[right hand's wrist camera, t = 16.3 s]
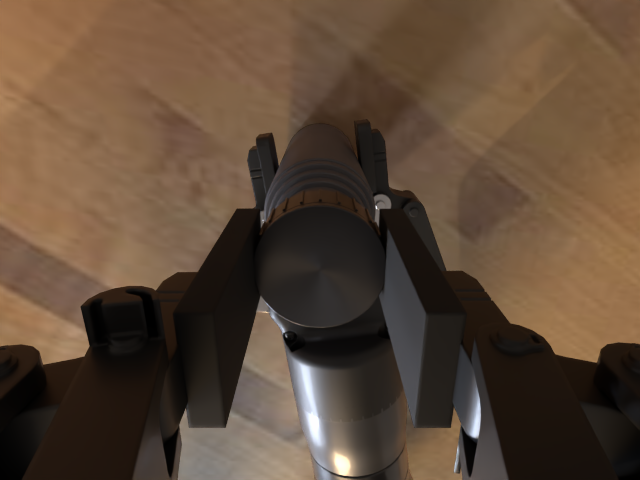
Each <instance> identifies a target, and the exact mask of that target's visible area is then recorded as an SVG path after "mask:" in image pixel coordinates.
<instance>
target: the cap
mask: <svg viewBox="0 0 640 480" xmlns="http://www.w3.org/2000/svg"><path fill="white" fill-rule="evenodd" d="M258 237H260V238H259V240H258V243H257V246H256V249H255V252H254V274H255V284H256V287H257V289H258V291H259V293H260V295H261V297H262V298H263V300H264V301H265V302H266V304H267V305H268V306H269V307H270V308H271V309H272V310H273V311H274V312H276V313H277V314H278V315H280V316H281V317H283V318H284V319H286V320H288V321H291V322H293V323H296V324H299V325H302V326H307V327H315V328H326V327H333V326H338V325H342V324H344V323H347V322H349V321H351V320H353V319H355V318H357V317H359V316H360V315H362V314H363V313H364V312H365V311H367V310H368V309H369V308H370V307H371V306H372V305H373V303H374V302H375V301H376V299H377V298H378V297H379V295H380V293H381V291H382V289H383V287H384V284H385V269H386V252H385V249H384V246H383V243H382V241H381V237H382V235H381V233H380V230H379V227H378V225H377V222H374V221H373V219H372V217H371V216H370V214H369V211H368V209H367V208H366V209H364V208H363V207H362V206H361V205H360V204H359V203H357V202H356V201H355V198H352V199H351V198H349V197H348V196H345V195H343V194H340V193H339V191H336V192H333V191H325V190H322V189H319V190H314V191H307V192H304V191H301V193H300V194H297V195H295V196H292V197H290V198H289V199H288V197H287V198H285V201H284V202H282V203H281V204H280V205H279V206H278V207H277V208H276V209H275V208H273V209H272V212H271V214H270V216H269V217H268V219H267V221H266V222H265V221H264V222H263V225H262V227H261V230H260V232H259V235H258Z"/></svg>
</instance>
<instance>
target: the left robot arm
mask: <svg viewBox="0 0 640 480" xmlns="http://www.w3.org/2000/svg"><path fill="white" fill-rule="evenodd" d="M354 125H355V135H356V144H357V154H358V162H359V164H360V166H361V169H362V171H363V173H364V175H365V177H366V180H367V182H368V184H369V186H370V189H371V191H372V193H373V197H374V201H375V210H376V214H375V222H377V225H378V227H379V210H380V209H403V210H404V212H405V213H406V215H407V216H408V218H409V220H410V221H411V223H412V225H413V226H414V228H415V229H416V231H417V233H418V234H419V236H420V237H421V239H422V241H423V242H424V244H425V246H426V247H427V249H428V250H429V252H430V254H431V255H432V257H433V259H434V260H435V262H436V263H437V265H438V267H439V268H440V270H441V271H446V268H445V265H444V262H443V260H442V257H441V254H440V251H439V248H438V245H437V243H436V240H435V237H434V234H433V231H432V228H431V226H430V223H429V220H428V217H427V214H426V211H425V209H424V206H423V205H422V204H421V202H420V201H419V200H418V199H417V197H416V196H415V195H414V193H412V192H411V191H408V190H405V191H399V190H395V189H392V188H390V187H389V185H388V173H387V161H386V149H385V141H384V139H383V137H382V135H381V133H380V131H379V130H377V129H373V130H371V126H370V122H369V121H368V120H367V119H365V120H358V121H354ZM256 145H257V146H253V147H252V148H251V149H250V150H249V154H248V160H247V161H248V166H249V170H250V176H251V180H252V185H253V190H254V195H255V200H256V207H255V208H253V209H260V216H261V227H262V225H263V222H264V221H265V215H264V206H265V200H266V196H267V193H268V191H269V188H270V186H271V184H272V182H273V179H274V177H275V175H276V173H277V170H278V168H279V165H278V159H277V154H276V148H275V142H274V137H273V134H272V133H266V134H260V135H259V136H258V137H257V138H256ZM257 312H265V313H269V314H270V316H271V318H272V319H273V320H274V321H275V323H276V324H277V325H278V326H279V328H280V330H281V332H282V336H283V341H284V346H285V351H286V355H287V360H288V365H289V370H290V375H291V380H292V385H293V390H294V395H295V400H296V405H297V410H298V415H299V420H300V423H301V427H302V430H303V433H304V435H305V438H306V440H307V443H308V446H309V451H310V456H311V461H312V466H313V471H314V476H315V480H413V478H412V476H411V473H410V470H409V467H408V454H407V443H406V421H407V401H406V395H405V391H404V388H403V384H402V380H401V376H400V373H399V369H398V365H397V361H396V358H395V354H394V350H393V346H392V343H391V339H390V335H389V331H388V328H387V324H386V320H385V316H384V313H383V309H382V305H381V301H380V298H379V297H378V298H377V299H376V301H375V302H374V303H373V305H372V306H371V307H370V308H369V309H368V310H367V311H365V312H364V313H363V314H362V315H360V316H359V317H357V318H355V319H353V320H351V321H349V322H347V323H344V324H342V325H338V326H333V327H326V328H315V327H307V326H302V325H299V324H296V323H293V322H291V321H288V320H286V319H284V318H283V317H281V316H280V315H278V314H277V313H276V312H274V311H273V310H272V309H271V308H270V307H269V306H268V305H267V304H266V302H265V301H264V300H263V298H262V297H260V300H259V304H258V308H257Z"/></svg>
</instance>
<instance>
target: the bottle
mask: <svg viewBox="0 0 640 480" xmlns="http://www.w3.org/2000/svg"><path fill="white" fill-rule="evenodd" d="M319 189H322V190H325V191H333V192H336V191H339V193H340V194H343V195H345V196H348V197H349V198H351V199H352V198H355V201H356V202H357V203H359V204H360V205H361V206H362V207H363V208H364V209H366V208H367V209H368V211H369V214H370V216H371V217H372V219H373V221H374V222H375V214H376V210H375V201H374V197H373V193H372V191H371V189H370V186H369V184H368V182H367V180H366V177H365V175H364V173H363V171H362V169H361V166H360V164H359V162H358V160H357V157H356V155H355V153H354V151H353V148H352V146H351V144H350V142H349V140H348V138H347V137H346V136H345V134H344V133H342V132H341V131H340V130H339V129H337V128H335V127H333V126H331V125H327V124H312V125H309V126H306V127H304V128H302V129H301V130H300V131H298V132H297V133H296V134H295V135H294V137H293V138H292V140H291V141H290V143H289V146H288V148H287V150H286V152H285V155H284V157H283V159H282V161H281V164H280V166H279V168H278V170H277V173H276V175H275V177H274V179H273V182H272V184H271V186H270V188H269V191H268V193H267V196H266V200H265V206H264V215H265V222H266V221H267V219H268V217H269V216H270V214H271V212H272V209H273V208H275V209H276V208H277V207H278V206H279V205H280V204H281V203H282V202H284V201H285V198H287V197H288V199H289V198H290V197H292V196H295V195H297V194H300V193H301V191H304V192H307V191H314V190H319Z"/></svg>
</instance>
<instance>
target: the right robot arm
mask: <svg viewBox="0 0 640 480" xmlns="http://www.w3.org/2000/svg"><path fill="white" fill-rule="evenodd" d="M260 230H261V216H260V209H236V211H235V213H234V214H233V216H232V218H231V219H230V221H229V222H228V224H227V226H226V227H225V229H224V231H223V232H222V234H221V235H220V237H219V239H218V240H217V242H216V243H215V245H214V247H213V248H212V250H211V252H210V253H209V255H208V256H207V258H206V260H205V261H204V263H203V265H202V266H201V268H200V269H199V271H198V272H177V273H176V274H174V275H172V276H171V277H169V278H167V279H166V280H164V281H163V282H162V283H161V285H160V286H159V287H158V289H157V290H156V291H155V290H154V289H152V288H148V287H144V286H126V287H120V288H114V289H111V290H108V291H105V292H102V293H99V294H97V295H95V296H93V297H92V298H90V299H88V300H87V301H86V302H85V303H84V304H83V305H82V306H81V310H82V315H83V319H84V323H85V328H86V332H87V336H88V341H89V345H90V347H89V349H88V351H87V353H86V355H85V356H84V357H80V358H76V359H72V360H66V361H61V362H56V363H51V364H45V365H43V363H42V360H41V356H40V353H39V351H38V350H37V349H35V348H34V347H33V346H27V345H10V346H8V345H7V346H1V347H0V480H177V478H178V470H179V462H180V455H181V447H182V442H181V435H180V429H179V424H180V421H181V419H182V416H183V414H184V411H185V409H186V410H187V417H188V424H189V428H226V424H227V420H228V417H229V413H230V409H231V405H232V402H233V398H234V394H235V390H236V387H237V383H238V379H239V375H240V372H241V368H242V364H243V360H244V357H245V353H246V349H247V345H248V342H249V338H250V334H251V330H252V327H253V323H254V319H255V315H256V312H257V308H258V304H259V300H260V297H261V295H260V293H259V291H258V289H257V287H256V284H255V274H254V252H255V249H256V246H257V243H258V240H259V238H260V237H258V235H259V232H260ZM379 230H380V233H381V235H382V237H381V241H382V243H383V246H384V249H385V252H386V269H385V284H384V287H383V289H382V291H381V293H380V295H379V298H380V301H381V305H382V309H383V313H384V316H385V320H386V324H387V328H388V331H389V335H390V339H391V343H392V346H393V350H394V354H395V358H396V361H397V365H398V369H399V373H400V376H401V380H402V384H403V388H404V391H405V395H406V399H407V403H408V406H409V410H410V414H411V418H412V421H413V425H414V428H451V422H452V415H453V408H454V407H455V410H456V412H457V415H458V417H459V420H460V422H461V429H460V435H459V442H458V448H457V455H456V461H455V468H454V473H459V474H460V469H461V470H462V477H463V480H640V344H635V343H632V344H631V343H613V344H607V345H606V346H605V347H603V348H602V349H601V351H600V355H599V358H598V362H597V363H595V362H589V361H584V360H579V359H573V358H568V357H563V356H559V355H555V354H554V352H553V350H552V348H551V346H550V345H549V343H548V342H547V341H546V340H545V339H544V338H543V337H542V336H540V335H539V334H537V333H536V332H534V331H532V330H530V329H527V328H525V327H522V326H520V325H515V324H510V323H509V321H508V320H507V319H506V317H505V316H504V315H503V313H502V312H501V311H500V309H499V308H498V307H497V306H496V304H495V303H494V302H493V301H491V298H490V296H489V295H488V294H487V292H485V291H484V289H483V287H482V286H481V285H480V283H479V282H478V281H477V280H476V279H475V278H473V277H472V276H470V275H468V274H467V273H465V272H463V271H441V270H440V268H439V267H438V265H437V263H436V262H435V260H434V259H433V257H432V255H431V254H430V252H429V250H428V249H427V247H426V246H425V244H424V242H423V241H422V239H421V237H420V236H419V234H418V233H417V231H416V229H415V228H414V226H413V225H412V223H411V221H410V220H409V218H408V216H407V215H406V213H405V212H404V210H403V209H380V210H379Z"/></svg>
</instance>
